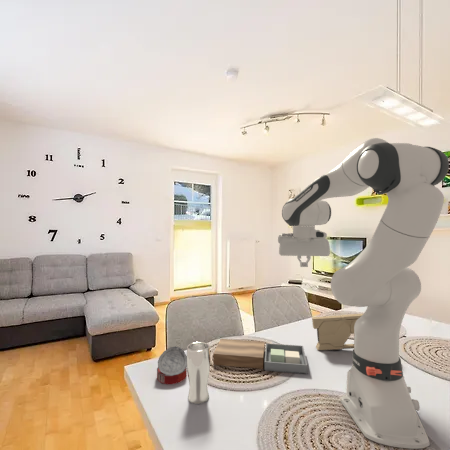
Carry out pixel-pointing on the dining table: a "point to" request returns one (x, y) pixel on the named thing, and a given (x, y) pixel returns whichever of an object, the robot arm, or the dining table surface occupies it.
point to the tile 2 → (292, 357)
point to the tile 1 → (277, 355)
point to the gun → (334, 331)
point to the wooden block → (239, 353)
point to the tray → (284, 366)
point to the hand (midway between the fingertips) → (303, 266)
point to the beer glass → (198, 371)
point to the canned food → (172, 366)
